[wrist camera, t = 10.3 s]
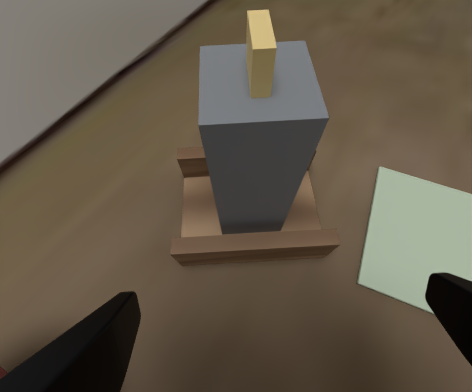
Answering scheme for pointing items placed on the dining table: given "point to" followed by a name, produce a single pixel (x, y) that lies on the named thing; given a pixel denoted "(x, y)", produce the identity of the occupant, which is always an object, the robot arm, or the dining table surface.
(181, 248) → the walnut rack
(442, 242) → the sage mat
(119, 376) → the robot arm
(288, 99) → the slate block
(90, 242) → the dining table surface
